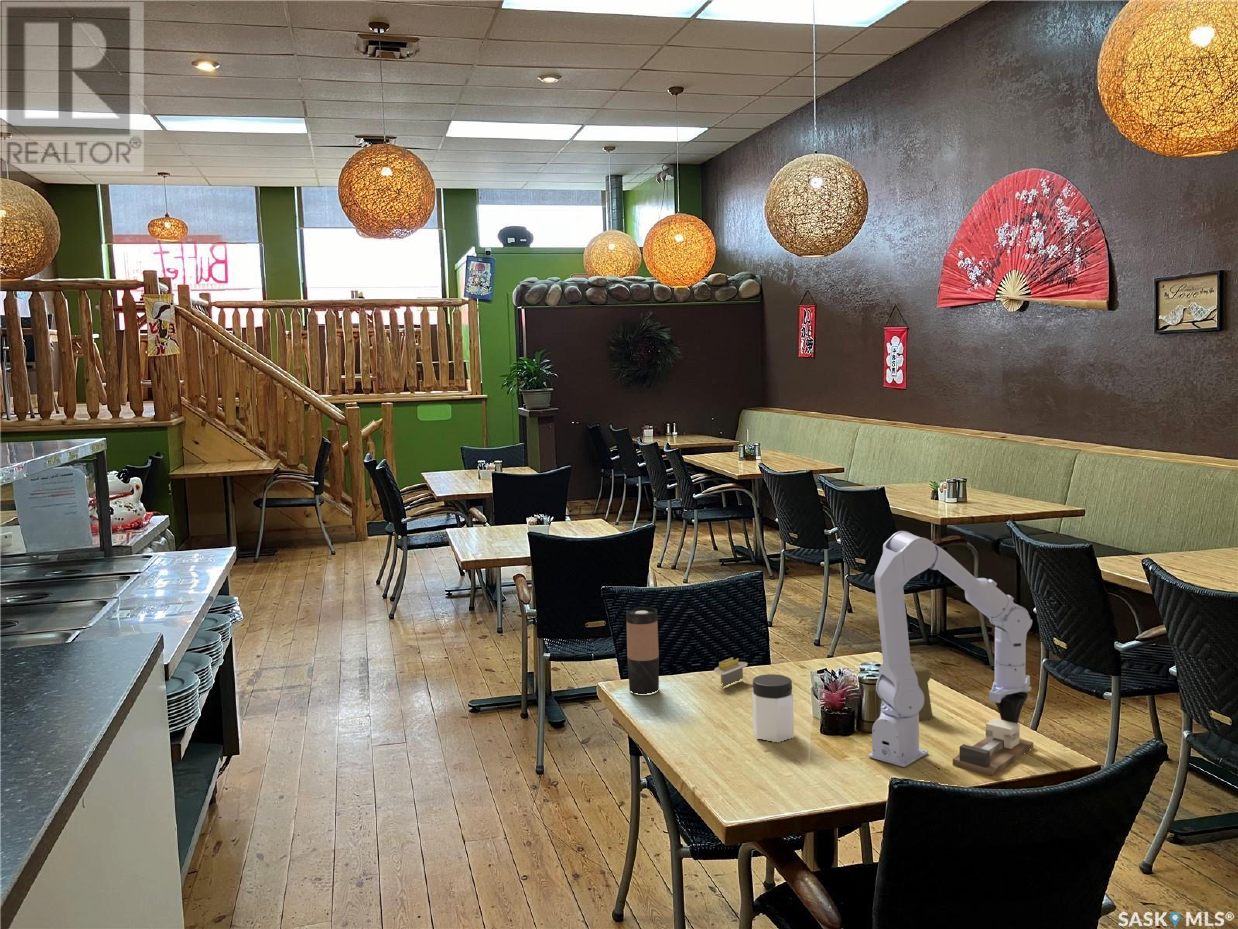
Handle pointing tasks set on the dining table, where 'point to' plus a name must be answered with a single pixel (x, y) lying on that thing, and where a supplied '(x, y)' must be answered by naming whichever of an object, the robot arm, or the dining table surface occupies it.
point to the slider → (1003, 732)
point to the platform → (730, 671)
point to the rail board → (990, 756)
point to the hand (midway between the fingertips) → (1009, 728)
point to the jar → (773, 708)
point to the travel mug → (643, 650)
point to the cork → (924, 691)
